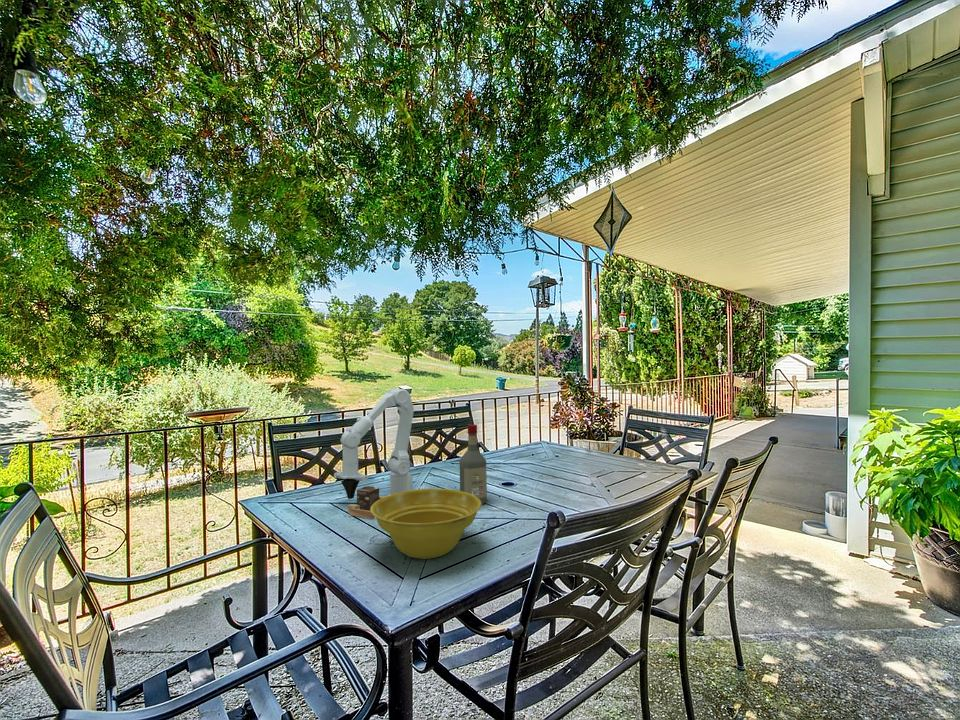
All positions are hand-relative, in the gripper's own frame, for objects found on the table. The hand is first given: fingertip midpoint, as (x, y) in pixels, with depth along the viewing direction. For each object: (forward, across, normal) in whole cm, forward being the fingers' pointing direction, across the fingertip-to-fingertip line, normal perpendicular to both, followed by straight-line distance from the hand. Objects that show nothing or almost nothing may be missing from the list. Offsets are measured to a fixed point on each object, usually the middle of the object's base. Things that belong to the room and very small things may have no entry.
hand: (350, 498), depth 168 cm
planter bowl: (+3, +47, -23) cm, 53 cm away
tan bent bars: (+3, +18, 0) cm, 18 cm away
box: (+3, +8, 0) cm, 9 cm away
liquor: (+3, +43, +20) cm, 47 cm away
